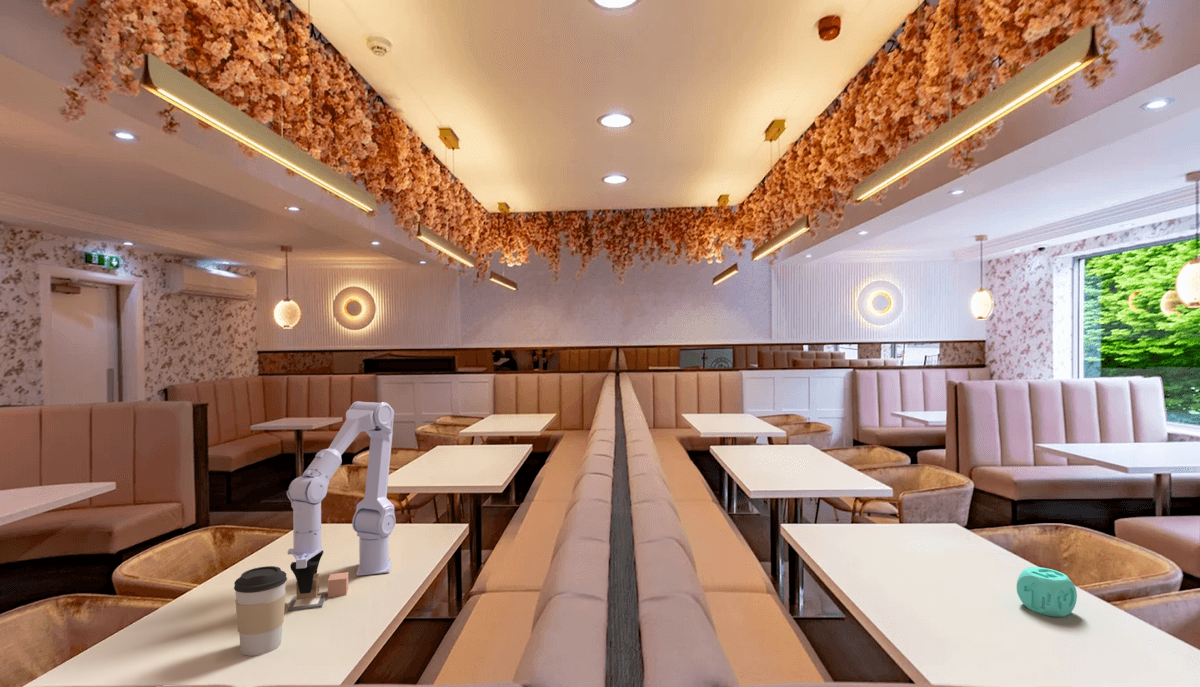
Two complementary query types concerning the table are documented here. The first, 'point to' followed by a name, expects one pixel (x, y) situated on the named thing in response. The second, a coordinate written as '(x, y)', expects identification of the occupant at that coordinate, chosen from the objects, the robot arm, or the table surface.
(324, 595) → the mat
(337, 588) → the terracotta block
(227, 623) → the table surface
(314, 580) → the walnut block
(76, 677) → the table surface
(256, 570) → the coffee cup
